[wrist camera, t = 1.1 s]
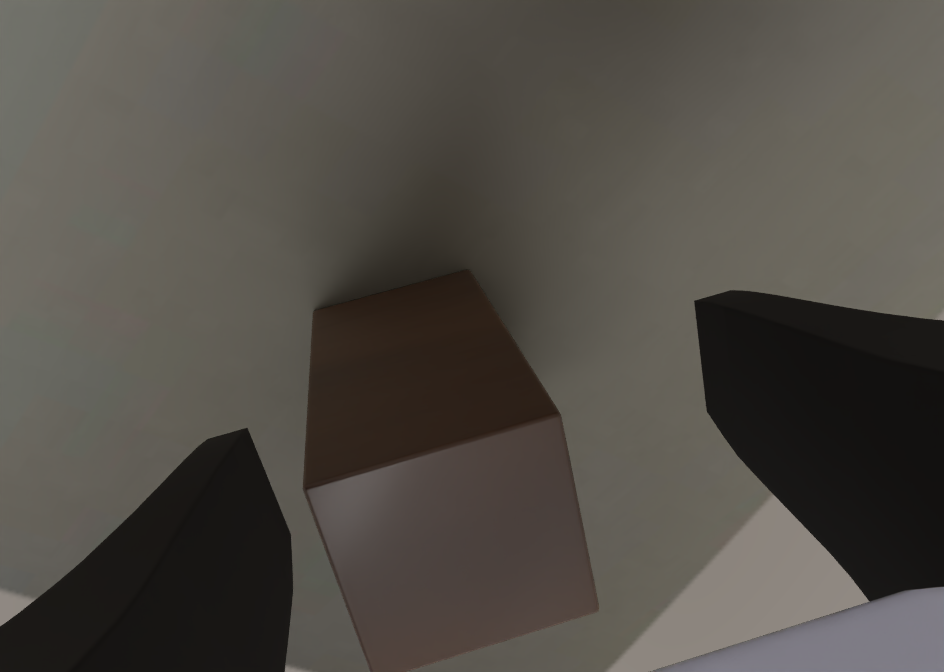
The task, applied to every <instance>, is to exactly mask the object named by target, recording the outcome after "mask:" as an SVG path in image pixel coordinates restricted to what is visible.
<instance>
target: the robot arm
mask: <svg viewBox="0 0 944 672" xmlns="http://www.w3.org/2000/svg"><path fill="white" fill-rule="evenodd" d="M694 302H695V311H696V320H697V329H698V338H699V346H700V355H701V364H702V373H703V382H704V390H705V399H706V408H707V412H708V414H709V415H710V417H711V418H712V420H713V421H714V423H715V424H716V426H717V427H718V429H719V430H720V432H721V433H722V435H723V436H724V438H725V439H726V440H727V442H728V443H729V444H730V446H731V447H732V449H733V450H734V451H735V453H736V454H737V455H738V457H739V458H740V459H741V460H742V461H743V462H744V463H745V464H746V466H747V467H748V468H749V469H750V470H751V471H752V472H753V473H754V474H755V475H756V476H757V477H758V478H759V479H760V481H761V482H762V483H763V484H764V485H765V486H766V487H767V488H768V489H769V490H770V491H771V492H772V493H773V494H774V495H775V496H776V497H777V498H778V499H779V500H780V502H781V503H783V505H784V506H785V507H786V508H787V509H788V510H789V511H790V512H791V513H792V514H793V515H794V516H795V517H796V518H797V519H798V520H799V521H800V522H801V523H802V524H803V525H804V527H805V528H806V529H808V531H809V532H810V533H811V534H812V535H813V536H814V537H815V538H816V539H817V540H818V541H819V542H820V543H821V544H822V545H823V546H824V547H825V548H826V549H827V551H829V553H830V554H831V555H832V556H833V557H834V558H835V559H836V561H838V563H839V564H840V565H841V566H842V567H843V569H844V570H845V571H846V572H847V573H848V574H849V575H850V577H851V578H852V579H853V580H854V582H855V583H856V584H857V586H858V587H859V588H860V589H861V591H862V592H863V594H864V595H865V596H866V597H867V599H868V600H869V601H870V602H867V603H864V604H861V605H858V606H855V607H852V608H848V609H845V610H842V611H839V612H836V613H833V614H830V615H826V616H823V617H820V618H817V619H814V620H811V621H807V622H804V623H801V624H798V625H795V626H792V627H789V628H786V629H782V630H780V631H776V632H773V633H770V634H767V635H763V636H760V637H757V638H754V639H751V640H748V641H745V642H742V643H739V644H736V645H732V646H729V647H726V648H723V649H719V650H716V651H713V652H710V653H707V654H704V655H701V656H698V657H695V658H691V659H688V660H685V661H682V662H679V663H675V664H672V665H669V666H666V667H663V668H660V669H657V670H653V671H650V672H944V321H942V320H932V319H923V318H915V317H907V316H900V315H892V314H884V313H877V312H871V311H864V310H858V309H852V308H846V307H840V306H834V305H829V304H823V303H817V302H812V301H806V300H801V299H795V298H789V297H784V296H778V295H772V294H765V293H759V292H751V291H735V290H731V291H727V292H724V293H720V294H717V295H713V296H709V297H706V298H702V299H699V300H695V301H694ZM292 596H293V572H292V550H291V534H290V531H289V529H288V526H287V524H286V521H285V519H284V517H283V514H282V512H281V509H280V507H279V504H278V502H277V499H276V497H275V494H274V492H273V490H272V487H271V485H270V482H269V480H268V477H267V475H266V472H265V470H264V467H263V465H262V463H261V460H260V458H259V455H258V453H257V450H256V448H255V445H254V443H253V441H252V438H251V436H250V433H249V431H248V428H245V429H241V430H238V431H234V432H231V433H227V434H224V435H220V436H217V437H213V438H210V439H207V440H206V441H205V442H203V443H202V444H201V445H200V446H199V447H197V448H196V449H195V450H194V451H193V452H192V453H191V454H190V455H189V456H188V457H187V458H186V459H185V460H184V461H183V462H182V463H181V464H180V465H179V466H178V467H177V468H176V469H175V470H174V471H173V472H172V473H171V474H170V475H169V476H168V477H167V479H166V480H165V481H164V482H163V483H162V484H161V485H160V486H159V487H158V488H157V489H156V490H155V491H154V492H153V493H152V494H151V495H150V496H149V497H148V498H147V499H146V500H145V501H144V502H143V503H142V504H141V505H140V506H139V507H138V508H137V509H136V510H135V511H134V512H133V513H132V514H131V515H130V516H129V517H128V518H127V519H126V520H125V521H124V522H123V523H122V524H121V525H120V526H119V527H118V528H117V529H116V530H115V531H114V532H113V533H111V534H110V535H109V536H108V537H107V538H106V539H105V540H104V541H103V542H102V543H101V544H100V545H99V546H98V547H97V548H96V549H95V550H94V551H92V552H91V553H90V554H89V555H88V556H87V557H86V558H85V559H84V560H83V561H82V562H81V563H79V564H78V565H77V566H76V567H75V568H74V569H73V570H71V571H70V572H69V573H68V574H67V575H66V576H64V577H63V578H62V579H61V580H60V581H58V582H57V583H56V584H55V585H54V586H52V587H51V588H50V589H49V590H47V591H46V592H45V593H44V594H42V595H41V596H40V597H39V598H37V599H36V600H35V601H34V602H32V603H31V604H30V605H28V606H27V607H26V608H25V609H24V610H23V611H21V612H20V613H18V614H17V615H16V616H14V617H13V618H12V619H10V620H9V621H7V622H6V623H5V624H3V625H2V626H0V672H285V663H286V654H287V645H288V636H289V626H290V616H291V607H292Z"/></svg>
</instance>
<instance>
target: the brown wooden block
mask: <svg viewBox="0 0 944 672" xmlns="http://www.w3.org/2000/svg"><path fill="white" fill-rule="evenodd" d="M303 491H304V494H305V496H306V499H307V502H308V504H309V507H310V510H311V513H312V515H313V518H314V521H315V523H316V526H317V529H318V531H319V534H320V537H321V540H322V542H323V545H324V548H325V550H326V553H327V556H328V558H329V561H330V564H331V567H332V569H333V572H334V575H335V577H336V580H337V583H338V585H339V588H340V591H341V594H342V596H343V599H344V602H345V604H346V607H347V610H348V612H349V615H350V618H351V620H352V623H353V626H354V629H355V631H356V634H357V637H358V639H359V642H360V645H361V647H362V650H363V653H364V656H365V658H366V661H367V664H368V666H369V669H370V672H407V671H410V670H413V669H417V668H420V667H423V666H426V665H429V664H433V663H436V662H439V661H442V660H445V659H449V658H452V657H455V656H458V655H461V654H465V653H468V652H471V651H474V650H477V649H481V648H484V647H487V646H490V645H493V644H497V643H500V642H503V641H506V640H509V639H513V638H516V637H519V636H522V635H525V634H529V633H532V632H535V631H538V630H541V629H545V628H548V627H551V626H554V625H557V624H561V623H564V622H567V621H570V620H573V619H577V618H580V617H583V616H586V615H589V614H593V613H596V612H597V611H599V604H598V599H597V594H596V589H595V584H594V579H593V574H592V569H591V564H590V559H589V554H588V549H587V543H586V538H585V533H584V528H583V523H582V518H581V513H580V508H579V503H578V498H577V493H576V488H575V483H574V478H573V473H572V468H571V463H570V458H569V453H568V448H567V443H566V438H565V433H564V427H563V422H562V417H561V414H560V412H559V411H558V409H557V408H556V406H555V404H554V403H553V401H552V400H551V398H550V396H549V395H548V393H547V392H546V390H545V388H544V387H543V385H542V384H541V382H540V381H539V379H538V377H537V376H536V374H535V373H534V371H533V369H532V368H531V366H530V365H529V363H528V361H527V360H526V358H525V357H524V355H523V354H522V352H521V350H520V349H519V347H518V346H517V344H516V342H515V341H514V339H513V338H512V336H511V335H510V333H509V331H508V330H507V328H506V327H505V325H504V323H503V322H502V320H501V319H500V317H499V315H498V314H497V312H496V311H495V309H494V308H493V306H492V304H491V303H490V301H489V300H488V298H487V296H486V295H485V293H484V292H483V290H482V288H481V287H480V285H479V284H478V282H477V281H476V279H475V277H474V276H473V274H472V273H471V271H470V270H464V271H460V272H456V273H452V274H449V275H445V276H441V277H438V278H434V279H430V280H426V281H423V282H419V283H415V284H412V285H408V286H404V287H400V288H397V289H393V290H389V291H386V292H382V293H378V294H374V295H371V296H367V297H363V298H360V299H356V300H352V301H348V302H345V303H341V304H337V305H334V306H330V307H326V308H322V309H319V310H315V311H314V312H313V321H312V338H311V355H310V373H309V390H308V407H307V425H306V442H305V459H304V476H303Z"/></svg>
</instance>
